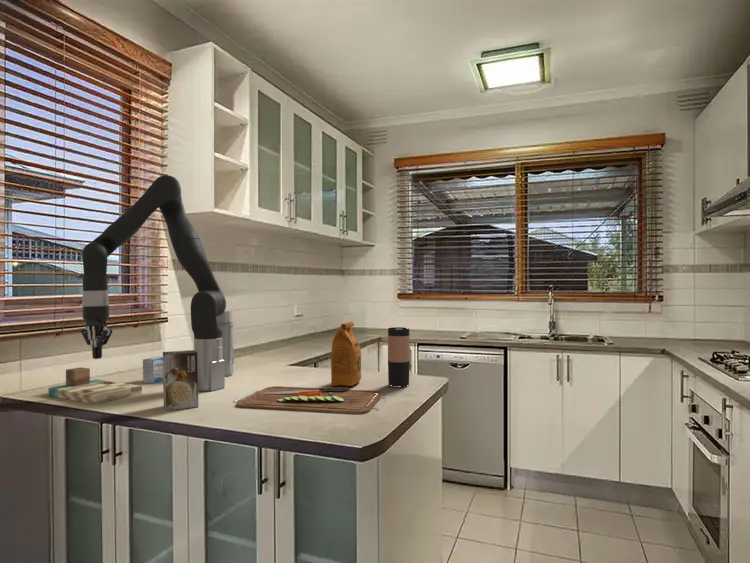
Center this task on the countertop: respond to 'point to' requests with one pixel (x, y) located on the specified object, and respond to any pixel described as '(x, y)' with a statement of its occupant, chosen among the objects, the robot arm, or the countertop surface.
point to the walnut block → (77, 376)
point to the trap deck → (95, 391)
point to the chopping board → (312, 400)
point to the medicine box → (153, 369)
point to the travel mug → (398, 356)
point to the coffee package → (345, 357)
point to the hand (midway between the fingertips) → (97, 358)
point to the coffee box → (180, 379)
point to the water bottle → (227, 340)
